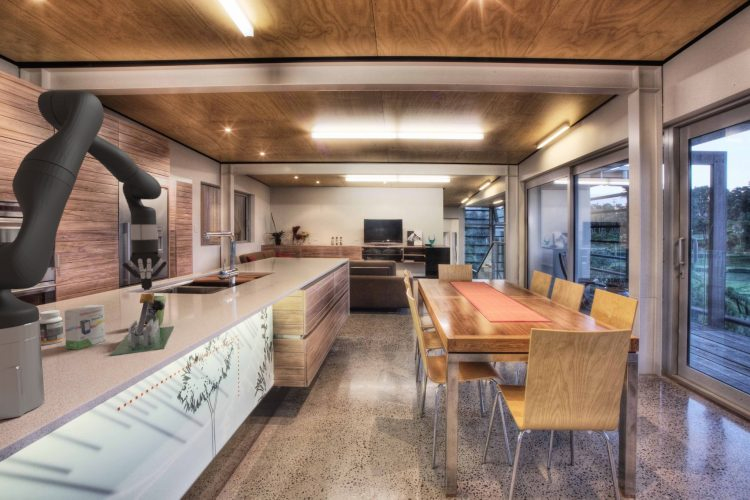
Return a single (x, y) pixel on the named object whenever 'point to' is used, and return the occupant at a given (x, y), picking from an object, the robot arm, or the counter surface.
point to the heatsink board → (144, 337)
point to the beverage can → (157, 307)
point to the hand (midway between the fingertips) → (147, 289)
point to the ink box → (84, 326)
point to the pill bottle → (51, 327)
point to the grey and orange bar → (144, 311)
